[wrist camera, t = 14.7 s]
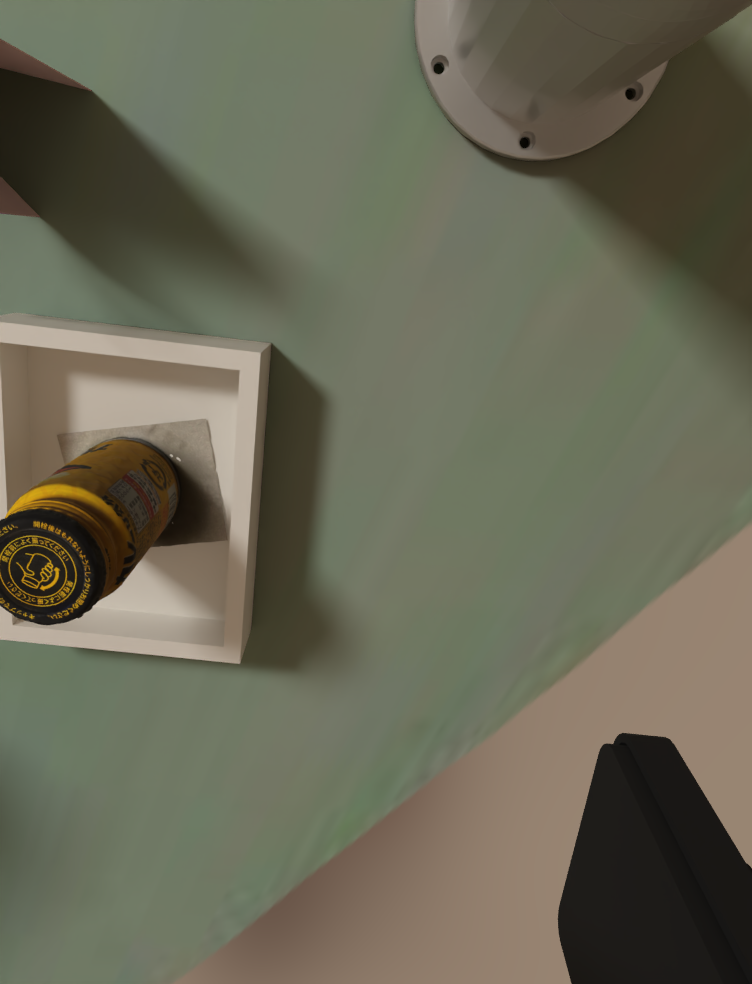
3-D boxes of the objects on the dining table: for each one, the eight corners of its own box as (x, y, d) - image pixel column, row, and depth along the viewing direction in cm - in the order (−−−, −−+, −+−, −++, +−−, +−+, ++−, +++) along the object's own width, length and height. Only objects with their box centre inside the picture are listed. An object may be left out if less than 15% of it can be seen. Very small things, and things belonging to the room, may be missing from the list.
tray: (16, 312, 39) (-23, 319, 36) (271, 343, 40) (260, 352, 36) (27, 606, 45) (-5, 638, 41) (251, 629, 46) (240, 663, 42)
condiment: (58, 433, 41) (-66, 505, 29) (206, 417, 40) (140, 483, 29) (88, 552, 43) (-16, 661, 32) (228, 538, 43) (175, 642, 31)
